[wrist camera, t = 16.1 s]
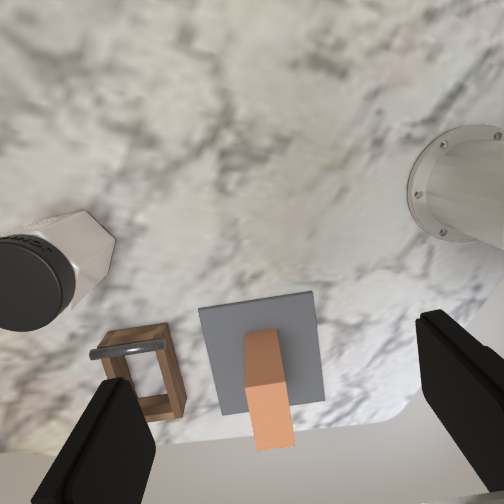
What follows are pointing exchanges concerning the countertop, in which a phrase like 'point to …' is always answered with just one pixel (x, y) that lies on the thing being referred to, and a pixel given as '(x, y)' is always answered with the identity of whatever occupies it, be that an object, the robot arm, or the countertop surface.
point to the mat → (290, 342)
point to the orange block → (267, 391)
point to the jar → (50, 268)
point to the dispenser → (161, 342)
